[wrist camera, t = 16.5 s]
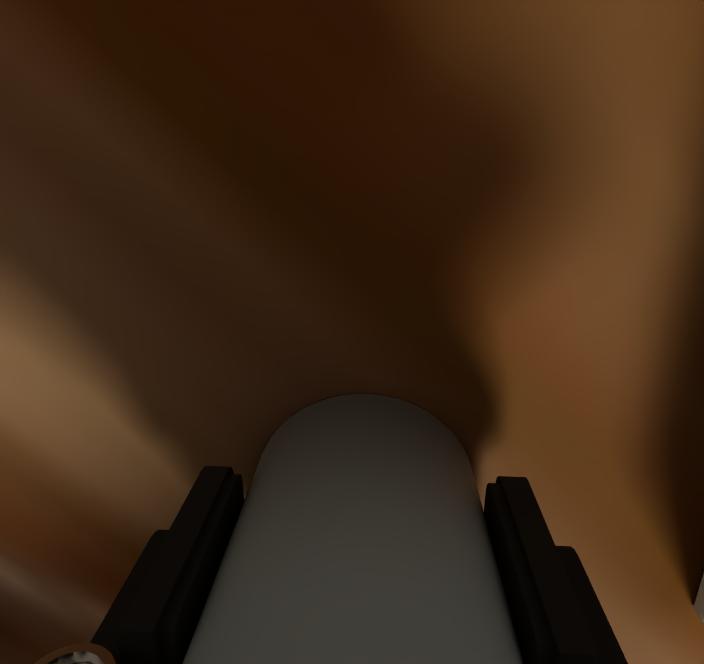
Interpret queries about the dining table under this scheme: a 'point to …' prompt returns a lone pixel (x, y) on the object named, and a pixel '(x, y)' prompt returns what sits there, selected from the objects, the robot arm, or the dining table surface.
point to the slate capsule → (359, 548)
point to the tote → (700, 600)
